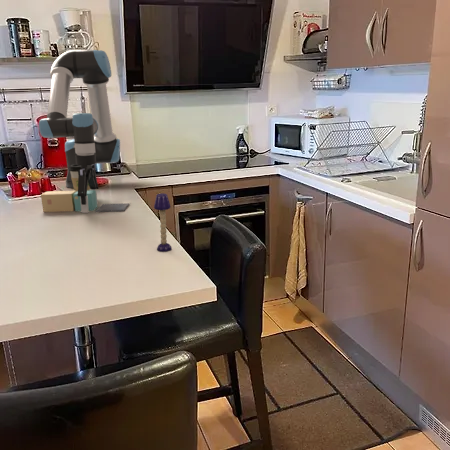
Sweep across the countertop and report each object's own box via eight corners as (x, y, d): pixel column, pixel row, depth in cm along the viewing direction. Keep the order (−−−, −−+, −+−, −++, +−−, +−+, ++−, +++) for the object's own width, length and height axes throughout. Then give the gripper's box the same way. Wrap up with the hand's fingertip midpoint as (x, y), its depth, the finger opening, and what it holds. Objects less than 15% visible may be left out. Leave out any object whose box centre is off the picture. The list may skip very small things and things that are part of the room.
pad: (102, 205, 192) (102, 203, 192) (129, 204, 192) (129, 203, 192) (95, 212, 181) (95, 210, 181) (123, 211, 181) (123, 209, 181)
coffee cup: (89, 202, 199) (85, 167, 194) (68, 201, 201) (63, 167, 196) (99, 196, 208) (96, 163, 204) (79, 196, 210) (75, 163, 206)
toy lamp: (175, 247, 138) (171, 192, 133) (170, 252, 133) (166, 196, 129) (160, 246, 139) (156, 192, 134) (154, 252, 135) (150, 195, 130)
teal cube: (80, 207, 190) (78, 190, 188) (97, 207, 190) (95, 190, 188) (75, 211, 184) (73, 194, 182) (93, 210, 184) (91, 193, 182)
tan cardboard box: (49, 208, 190) (46, 191, 188) (79, 207, 190) (77, 190, 188) (43, 212, 184) (40, 194, 182) (74, 211, 184) (72, 193, 182)
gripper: (85, 150, 192) (89, 201, 198) (65, 158, 169) (70, 216, 175) (103, 150, 192) (106, 201, 198) (85, 158, 169) (90, 216, 175)
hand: (89, 208), depth 186 cm, fingers open, 11 cm apart
